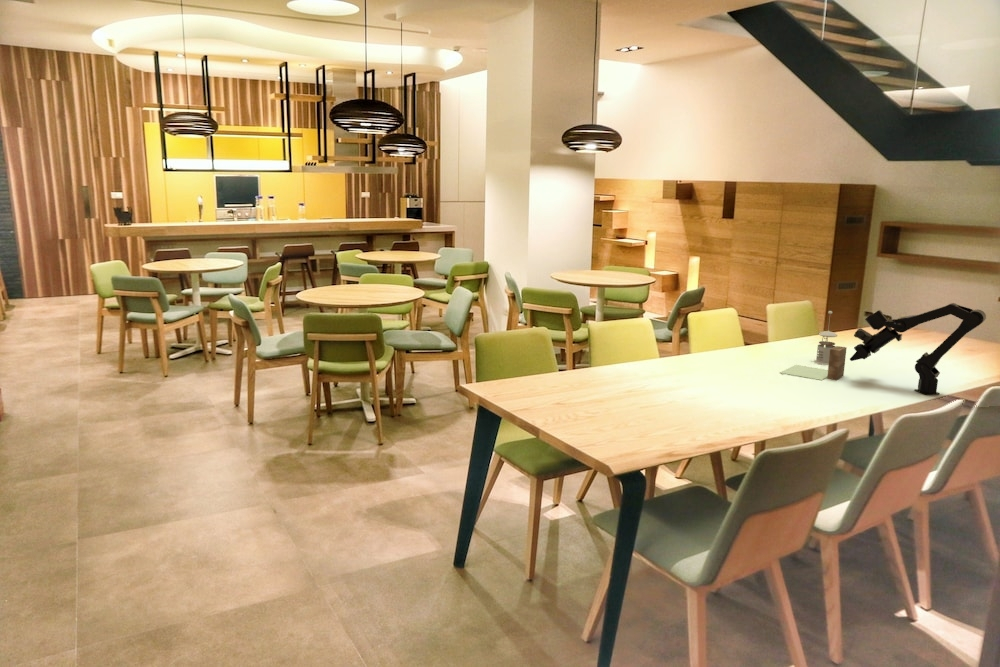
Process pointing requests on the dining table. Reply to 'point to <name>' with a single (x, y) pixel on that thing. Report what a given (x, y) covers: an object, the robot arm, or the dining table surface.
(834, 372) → the slab
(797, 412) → the dining table surface
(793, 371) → the mat
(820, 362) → the french press
